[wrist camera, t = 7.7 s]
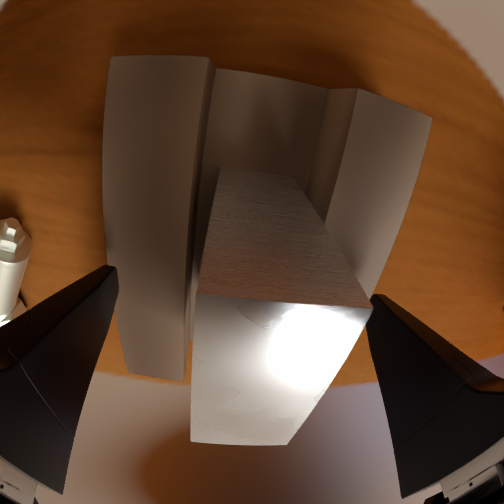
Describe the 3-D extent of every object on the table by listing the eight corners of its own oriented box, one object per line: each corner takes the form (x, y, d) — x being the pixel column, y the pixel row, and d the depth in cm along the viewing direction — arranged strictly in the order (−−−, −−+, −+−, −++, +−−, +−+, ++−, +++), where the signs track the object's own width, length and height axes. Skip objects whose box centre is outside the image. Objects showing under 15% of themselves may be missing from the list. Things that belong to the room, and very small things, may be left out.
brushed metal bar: (293, 177, 12) (374, 308, 5) (265, 293, 14) (286, 444, 8) (220, 166, 11) (195, 293, 4) (206, 286, 14) (190, 441, 7)
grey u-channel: (386, 109, 10) (432, 118, 7) (309, 342, 17) (321, 387, 14) (145, 66, 9) (111, 56, 6) (141, 326, 16) (128, 372, 13)
